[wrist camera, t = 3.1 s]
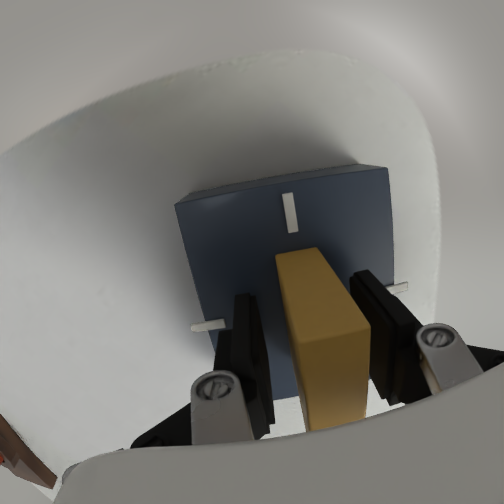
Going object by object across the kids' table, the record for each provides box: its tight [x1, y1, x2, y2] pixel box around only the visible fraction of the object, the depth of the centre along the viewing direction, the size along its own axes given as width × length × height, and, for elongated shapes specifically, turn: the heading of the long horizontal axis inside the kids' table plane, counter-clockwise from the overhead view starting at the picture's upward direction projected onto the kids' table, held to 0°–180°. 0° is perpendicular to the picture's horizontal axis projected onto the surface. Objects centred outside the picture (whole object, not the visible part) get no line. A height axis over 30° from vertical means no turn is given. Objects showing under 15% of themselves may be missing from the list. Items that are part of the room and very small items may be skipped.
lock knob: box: [275, 247, 371, 432], centre depth 9 cm, size 5×2×6 cm, turn 11°
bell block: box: [0, 414, 57, 489], centre depth 20 cm, size 12×9×4 cm
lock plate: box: [174, 164, 408, 400], centre depth 13 cm, size 10×9×3 cm
